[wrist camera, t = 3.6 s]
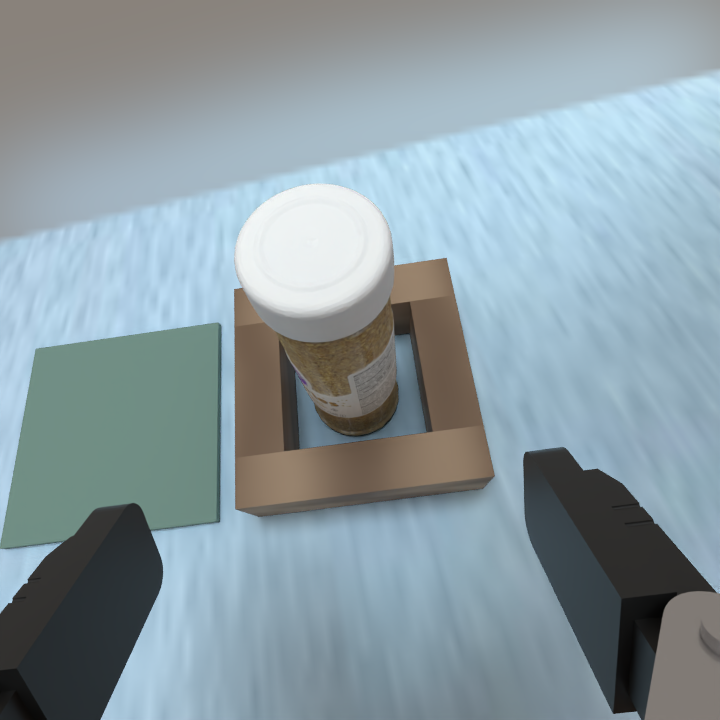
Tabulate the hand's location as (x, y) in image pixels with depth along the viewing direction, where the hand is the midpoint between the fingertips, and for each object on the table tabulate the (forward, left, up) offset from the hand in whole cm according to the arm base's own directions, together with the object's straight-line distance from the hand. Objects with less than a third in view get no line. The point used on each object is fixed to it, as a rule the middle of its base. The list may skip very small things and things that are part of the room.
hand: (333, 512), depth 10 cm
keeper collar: (0, -7, -14) cm, 16 cm away
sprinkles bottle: (0, -7, -14) cm, 16 cm away
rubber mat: (+13, -7, -14) cm, 20 cm away
